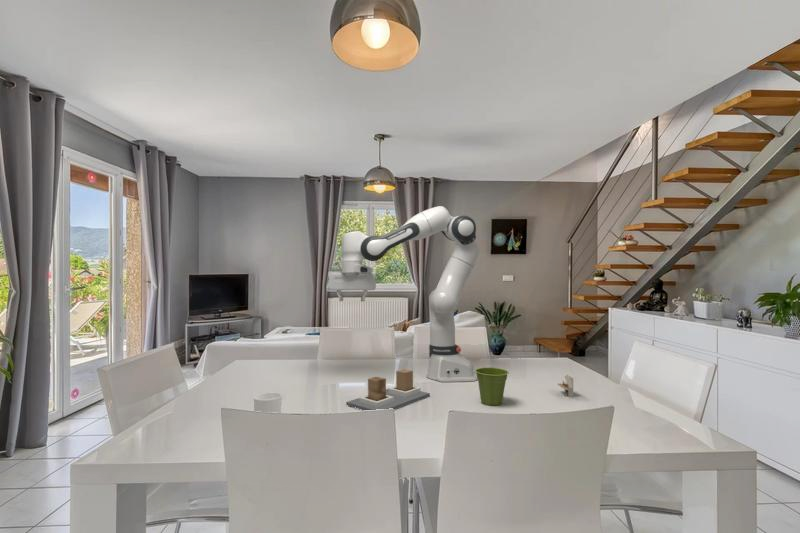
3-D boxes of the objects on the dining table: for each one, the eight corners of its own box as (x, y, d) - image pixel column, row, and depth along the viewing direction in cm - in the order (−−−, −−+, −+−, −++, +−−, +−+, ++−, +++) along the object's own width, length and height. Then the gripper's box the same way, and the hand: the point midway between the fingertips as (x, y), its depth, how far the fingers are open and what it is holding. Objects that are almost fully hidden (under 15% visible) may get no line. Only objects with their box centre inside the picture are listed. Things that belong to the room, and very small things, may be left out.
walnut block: (376, 399, 149) (376, 376, 149) (386, 401, 146) (385, 378, 146) (368, 401, 146) (368, 378, 146) (377, 404, 143) (377, 381, 143)
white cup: (273, 436, 119) (273, 400, 119) (248, 434, 120) (248, 399, 120) (286, 426, 126) (286, 392, 127) (262, 424, 128) (262, 391, 128)
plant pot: (502, 410, 140) (502, 376, 140) (469, 404, 146) (469, 372, 146) (513, 401, 150) (513, 369, 150) (482, 395, 156) (481, 365, 156)
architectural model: (564, 398, 153) (564, 378, 154) (557, 393, 160) (557, 373, 160) (573, 398, 154) (573, 378, 154) (566, 393, 160) (565, 373, 161)
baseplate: (397, 388, 166) (397, 365, 166) (429, 396, 156) (429, 371, 156) (346, 405, 146) (346, 378, 146) (379, 415, 135) (379, 387, 135)
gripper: (326, 268, 176) (326, 301, 176) (373, 268, 174) (373, 301, 174) (330, 269, 182) (330, 300, 182) (376, 268, 180) (376, 300, 180)
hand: (352, 301), depth 178 cm, fingers open, 8 cm apart
